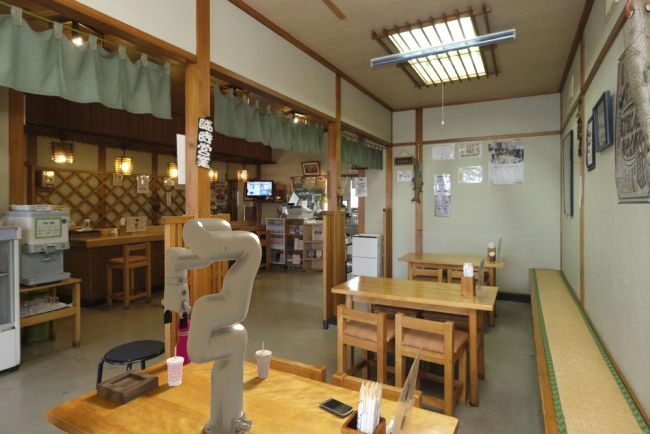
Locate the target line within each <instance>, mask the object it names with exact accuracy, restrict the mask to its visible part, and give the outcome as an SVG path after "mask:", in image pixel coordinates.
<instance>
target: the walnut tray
mask: <svg viewBox="0 0 650 434" xmlns="http://www.w3.org/2000/svg"><path fill="white" fill-rule="evenodd" d="M159 380H160V379H159V376H156V375H153V374H149V373H145V372H142V371H139V370H137V369H130V370H127V371H125V372H123V373H120V374H118V375H115V376H113V377H111V378H109V379H106V380H104V381H102V382H99V383H97V384H96V396H97V397H100V398H101V397H102V398H104V399H107V400H110V401H114V402H116V403H119V404H122V405H126V404H128V403H131V402H132V401H135V400H136V399H138V398H140V397H142V396H144V395H146V394H147V393H150V392H151V391H154V390H156V389H158V388H159Z"/></svg>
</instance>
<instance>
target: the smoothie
mask: <svg viewBox="0 0 650 434" xmlns="http://www.w3.org/2000/svg"><path fill="white" fill-rule="evenodd" d="M261 345H262V347H261V349H259V350H256V352H255V355H254V356H255V359H256V367H257V377H259V378H258V379H260V380H265V378H266V379H268V378H269V371H270V364H271V357H272V353H273V352H272V351H271V350H268V349H265V342H264V341H262V344H261Z"/></svg>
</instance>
